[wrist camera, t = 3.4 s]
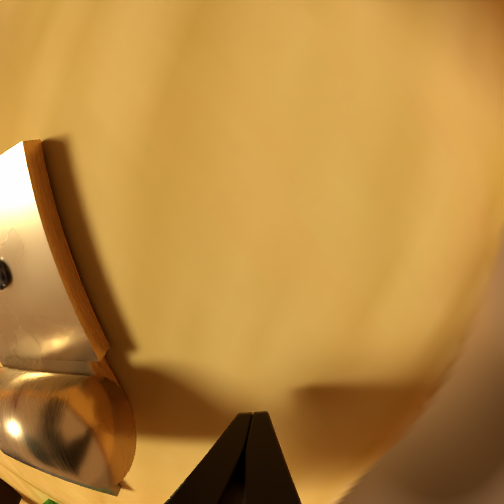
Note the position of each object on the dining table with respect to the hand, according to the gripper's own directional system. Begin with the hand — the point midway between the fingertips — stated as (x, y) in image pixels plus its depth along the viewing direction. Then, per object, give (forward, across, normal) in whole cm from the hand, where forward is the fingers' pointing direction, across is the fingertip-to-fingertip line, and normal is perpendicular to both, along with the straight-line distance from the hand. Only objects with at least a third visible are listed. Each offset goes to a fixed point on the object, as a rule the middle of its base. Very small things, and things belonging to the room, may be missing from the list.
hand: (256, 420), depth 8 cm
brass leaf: (+1, +11, -4) cm, 12 cm away
